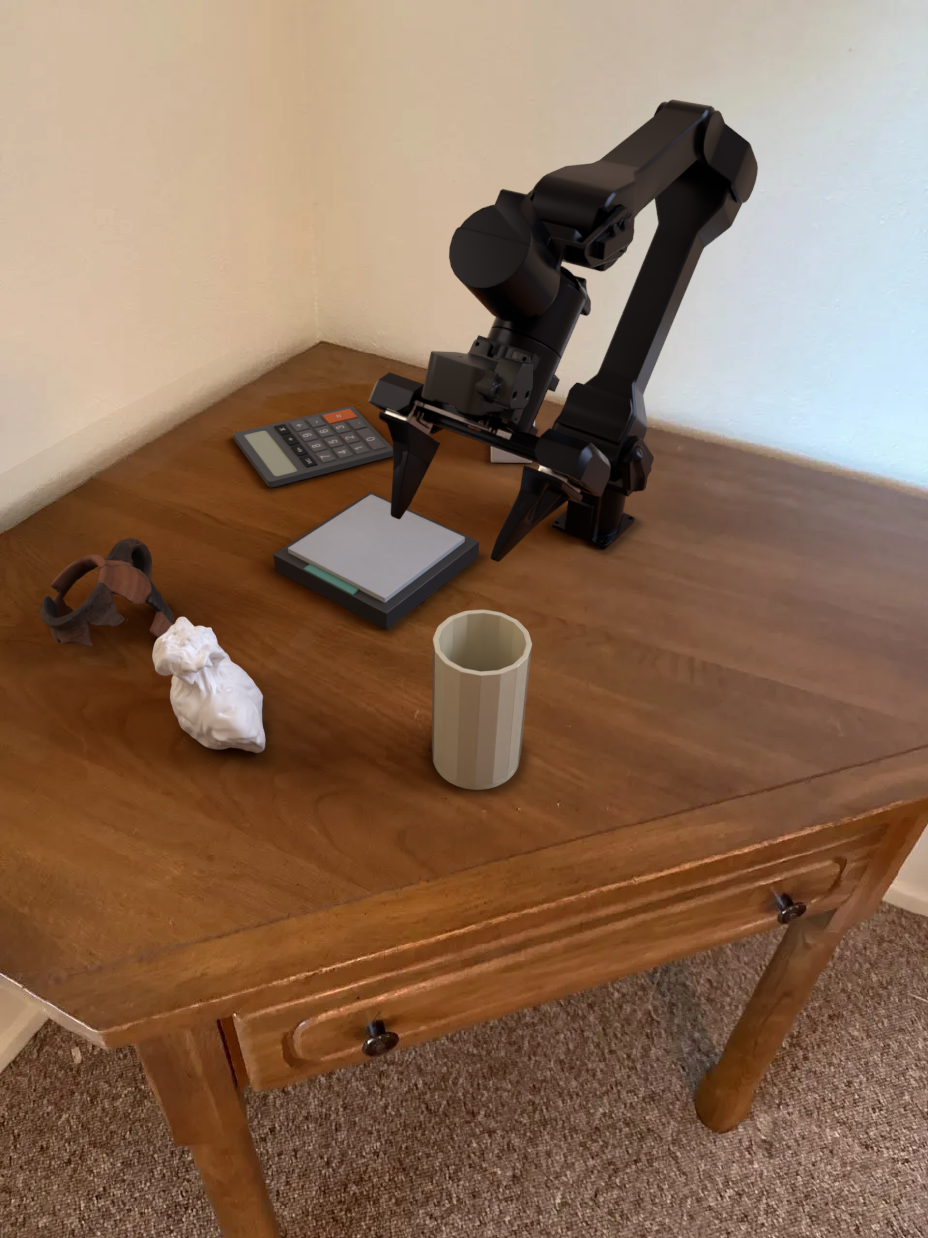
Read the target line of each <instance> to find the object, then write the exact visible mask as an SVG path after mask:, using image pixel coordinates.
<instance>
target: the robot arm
mask: <svg viewBox="0 0 928 1238" xmlns="http://www.w3.org/2000/svg"><path fill="white" fill-rule="evenodd" d="M758 171H759V165H758V161H757V158H756V156H755V153H754V150H753V147H752V145H751V143H750V141H748V140H747V139H745V138H744V137H743V136H742V135H741V134H740V133H738V131H737V132H736V130H734V129H733V128H732V127H731V126H729V125H728V124H726V122H725V119H724V117H723V114H722V113H721V111H720V110H717V109H715V107H714V106H713V105H708V104H704V103H703V104H702V103H697V102H691V101H690V102H689V101H684V100H677V99H670V100H668V101H662V102H661V103H659V105H658V106H657V107H656V110H655V112H654V114H653V116H652V117H651V118H650V119H649V120H646V122H644V123H643V124H642V125H641V126H640V127H638V128H637V129H636V130H635V131H634V132H633V133H631V134H630V135H628V136H627V137H626V138H625V139H623V140H622V141H621V142H620V143H619V144H617V145H616V146H615V147H614V148H613V149H611V150H610V151H609V152H607V153H606V154H605V155H604V156H603V157H601V158H600V159H598V160H595V161H594V162H590V163H581V164H571V165H565V166H563V167H560V168H558V169H556V170H555V169H554V170H553V171H551V172H548V173H546V174H545V175H543V176H542V177H541V178H540V179H539V180H538V181H537V182H536V183H535V184H534V186H533V188H532V189H531V190H530V191H528V193H524V192H518V191H515V190H509V189H505V188H502V189H500V190H499V193H498V195H497V198H496V200H495V203H494V204H490V205H487V206H484V207H481V208H479V209H478V210H476V211H475V212H473V213H472V214H471V215H469V216H468V217H467V218H466V219H465V220H464V221H463V223H461V225H460V226H458V227H457V228H456V229H455V230H454V232H453V234H452V236H451V240H450V243H449V249H448V250H449V252H448V260H449V265H450V269H451V270H452V273H453V275H454V276H455V277H456V278H457V279H458V280H459V282H460V283H462V285H463V286H464V287H465V288H466V289H467V290H468V291H469V292H470V293H471V294H472V295H473V296H474V298H476V299H477V300H478V302H479V303H481V304H482V305H483V307H484V308H485V309H486V310H487V311H488V312H489V313H490V314H491V315H492V316H494V317H495V318H494V320H493V323H492V325H491V327H490V330H489V332H488V334H487V336H483V335H480V334H478V335H477V337H476V339H475V340H473V342H472V344H471V346H470V349H469V351H468V352H467V353H464V352H459V351H437V350H432V351H430V354H429V359H428V363H427V369H426V372H425V378H424V382H423V383H422V382H420V381H416V380H412V379H411V378H408V377H405V376H402V375H399V374H396V373H393V372H391V371H389V372H388V373H386V374H384V375H382V377H380V378H378V380H377V381H375V383H374V385H373V387H372V390H371V393H370V395H369V397H368V400H367V403H369V404H371V405H372V406H374V407H375V408H376V409H378V410H380V411H378V419H379V420H380V421H381V422H383V423H384V424H386V425H387V429H388V432H389V434H390V438H391V442H392V448H393V456H392V458H393V459H392V460H393V461H392V462H393V467H392V481H391V482H392V483H391V500H390V501H391V516H392V517H394V518H396V519H401V518H402V516H403V515H404V513H405V512H406V510H407V509H409V507H410V505H411V503H412V502H413V500H414V498H415V496H416V494H417V492H418V490H419V488H420V486H421V483H422V482H423V480H424V478H425V476H426V473H428V469H429V468H430V467H431V464H432V462H433V460H434V458H435V457H436V454H437V452H438V450H439V448H440V446H441V442H440V441H438V440H437V439H435V438H433V437H432V436H430V435H435V434H436V433H438V432H440V431H443V430H446V431H448V432H452V433H454V434H457V435H460V436H462V437H465V438H468V439H471V440H473V441H475V442H479V443H482V444H485V445H486V446H490V447H491V446H492V447H495V448H497V449H500V450H503V451H506V452H508V453H511V454H514V455H516V456H519V457H522V458H525V459H527V460H530V461H532V463H535V464H538V467H537V468H533V467H531V466H528V465H525V464H524V465H523V467H522V473H521V482H520V486H519V487H520V488H519V490H518V493H517V495H516V497H515V500H514V501H513V504H512V506H511V508H510V509H509V512H508V514H507V516H506V517H505V520H504V522H503V525H502V526H501V528H500V530H499V533H498V535H497V537H496V539H495V542H494V545H493V548H492V551H491V554H490V559H491V560H492V561H495V562H497V563H499V562H501V561H502V560H504V558H505V557H506V556H507V555H508V554H509V553H510V552H511V551H512V550H513V549H515V548H516V546H517V545H519V543H520V542H522V541H523V540H524V539H525V537H527V536H528V535H529V534H530V533H531V531H533V530H534V529H535V528H536V527H537V526H538V525H539V524H540V523H542V522H543V521H544V520H545V519H546V518H548V517H549V516H550V515H552V514H553V513H555V512H556V511H557V510H558V509H559V508H561V507H562V506H564V504H567V505H566V510H565V511H563V512H562V513H561V514H560V515H558V516H557V517H556V518H555V519H553V521H552V522H551V527H552V528H553V529H555V530H557V531H560V532H562V533H565V534H567V535H568V536H571V537H574V538H576V539H578V540H581V541H583V542H585V543H587V544H590V545H592V546H594V547H598V548H600V549H603V550H604V549H607V548H609V547H610V546H611V545H613V543H614V542H615V541H616V540H618V538H620V537H621V536H622V535H623V534H624V533H625V532H626V531H627V530H628V529H629V528H630V527H632V526H633V525H634V524H635V521H636V517H635V516H633V515H631V514H627V513H625V512H624V510H625V506H626V505H625V504H626V498H627V497H628V498H629V497H630V495H632V494H633V493H637V492H643V491H645V490H646V489H647V483H648V478H649V476H650V474H651V472H652V466H653V463H654V458H655V456H654V455H653V453H652V451H651V450H650V448H649V446H648V445H647V444H646V441H644V440H645V437H646V434H647V432H648V427H649V424H648V417H647V411H646V405H645V397H644V394H645V392H646V389H647V386H648V385H649V381H650V379H651V377H652V375H653V372H654V370H655V367H656V364H657V363H658V360H659V357H660V355H661V352H662V350H663V348H664V345H665V343H666V340H667V338H668V335H669V333H670V330H671V328H672V326H673V323H674V321H675V318H676V316H677V314H678V311H679V309H680V307H681V304H682V302H683V300H684V296H685V294H686V293H687V290H688V287H689V286H690V282H691V280H692V278H693V275H694V273H695V271H696V268H697V265H698V263H699V260H700V258H701V256H702V254H703V251H704V249H705V248H706V247H707V246H709V245H710V244H711V243H713V242H714V241H715V240H716V239H718V238H719V237H721V235H723V234H724V233H725V232H727V231H728V230H729V229H730V228H731V227H732V226H733V224H734V222H735V220H736V218H737V216H738V213H739V212H740V209H741V207H742V205H743V204H745V203H747V201H748V200H749V199H750V197H751V195H752V193H753V191H754V188H755V186H756V183H757V177H758ZM653 201H654V204H655V208H656V209H655V211H656V218H657V226H656V229H655V232H654V234H653V237H652V239H651V241H650V243H649V247H648V249H647V252H646V254H645V256H644V258H643V261H642V263H641V266H640V269H639V270H638V274H637V276H636V278H635V281H634V283H633V285H632V288H631V291H630V293H629V295H628V298H627V301H626V303H625V306H624V308H623V310H622V312H621V315H620V318H619V320H618V323H617V324H616V328H615V330H614V333H613V335H612V337H611V340H610V342H609V345H608V348H607V349H606V352H605V354H604V357H603V360H602V362H601V364H600V367H599V369H598V371H597V373H596V374H595V375H593V376H592V377H590V378H589V380H587V381H586V382H584V383H581V382H578V381H577V382H575V383H574V384H573V385H572V386H571V387H570V388H569V390H568V393H567V396H566V399H565V401H564V405H563V406H562V409H561V411H560V413H559V415H558V416H557V417H556V419H555V420H554V422H553V424H552V426H551V427H549V428H547V429H546V430H545V431H544V432H543V433H542V434H541V435H539V436H537V434H538V432H539V428H537V427H536V425H535V426H533V424H534V421H535V422H536V419H537V416H538V414H539V412H540V409H541V407H542V405H543V403H544V400H545V398H546V395H547V394H548V391H550V392H553V393H555V392H556V391H557V387H558V385H559V384H560V381H561V379H560V378H559V377H558V376H557V375H556V372H557V370H558V368H559V365H560V363H561V360H562V359H563V356H564V354H565V351H566V348H567V346H568V344H569V341H570V340H571V338H572V335H573V332H574V330H575V327H576V325H577V323H578V320H579V318H580V316H584V317H588V316H589V315H590V314H591V311H592V301H591V298H590V296H589V293H588V288H587V283H588V282H587V278H585V277H582V276H578V275H575V274H574V273H572V271H571V270H569V269H568V268H567V267H565V266H563V264H562V263H565V264H569V265H573V266H574V265H575V266H578V267H581V268H585V269H589V270H592V271H593V270H594V271H597V272H600V273H601V272H606V271H607V270H609V269H610V268H612V267H613V266H614V265H615V264H616V262H617V261H618V260H619V259H620V258H621V257H623V255H624V254H625V253H627V250H628V247H629V246H630V244H631V243H632V242H633V241H634V235H635V219H636V217H637V216H638V215H639V214H640V212H641V211H643V210H644V209H645V208H646V207H647V206H648V205H649V204H650V203H652V202H653ZM498 429H499V430H501V431H504V432H507V433H510V434H512V435H511V437H510V439H507V438H504V437H502V436H499V435H497V432H498Z"/></svg>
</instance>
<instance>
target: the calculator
mask: <svg viewBox="0 0 928 1238" xmlns="http://www.w3.org/2000/svg"><path fill="white" fill-rule="evenodd" d="M233 440H234V442H235V443H236V445H237V447H239V449H240V450H241V452H242V453H243V454H244V456H245V457H246V458H247V460H248V461H249V463H250V464H251V465H252V467H253V468H254V469H255V471H256V472H257V473H258V475H259V476H260V478H261V479H262V480H263V482H264V483H265V485H266V486H267V487H268V488H276V487H280V486H283V485H286V484H292V483H295V482H298V481H299V482H300V481H302V480H307V479H310V478H314V477H318V476H322V475H326V474H330V473H333V472H337V471H341V470H345V469H349V468H353V467H357V466H361V465H364V464H368V463H369V464H370V463H373V462H376V461H380V460H383V459H388V458H391V457H392V458H393V446H392V445H391V444H390V443H389V442H388V441H387V440H386V439H385V438H384V437H383V436H382V435H381V434H380V433H379V432H378V430H376V429H375V427H373V426H372V424H371V423H370V422H369V421H368V420H366V418H365V417H364V416H363V415H362V414H361V413H360V412H359V411H358V410H357V409H356V408H355V407H354V406H352V405H351V406H345V407H341V408H335V409H332V410H328V411H324V412H320V413H315V414H311V415H307V416H302V417H298V418H293V419H288V420H285V421H281V422H276V423H275V422H274V423H271V424H267V425H263V426H259V427H254V428H249V429H245V430H241V431H237V432H234V433H233Z"/></svg>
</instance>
